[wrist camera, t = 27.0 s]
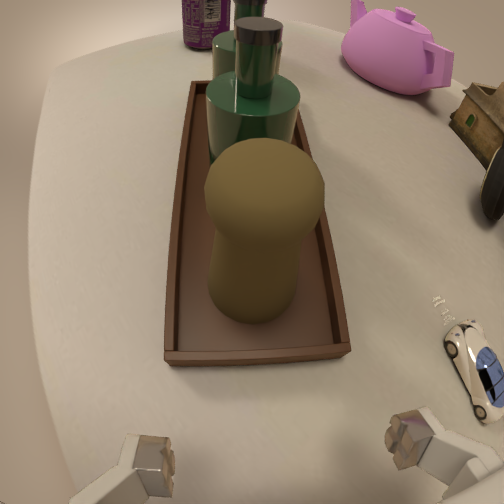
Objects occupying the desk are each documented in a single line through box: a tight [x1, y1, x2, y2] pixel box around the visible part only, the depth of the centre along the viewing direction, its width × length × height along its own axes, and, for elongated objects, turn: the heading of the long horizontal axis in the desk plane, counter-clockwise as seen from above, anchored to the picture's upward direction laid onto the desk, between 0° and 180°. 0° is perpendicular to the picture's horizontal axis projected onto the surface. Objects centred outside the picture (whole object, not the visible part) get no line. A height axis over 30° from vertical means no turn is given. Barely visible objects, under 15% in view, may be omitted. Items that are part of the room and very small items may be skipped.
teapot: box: [341, 0, 454, 95], centre depth 36 cm, size 22×16×12 cm
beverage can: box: [182, 0, 231, 49], centre depth 36 cm, size 7×7×12 cm
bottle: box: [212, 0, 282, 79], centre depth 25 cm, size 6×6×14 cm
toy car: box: [432, 296, 504, 424], centre depth 19 cm, size 4×12×3 cm, turn 23°
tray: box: [164, 80, 351, 366], centre depth 26 cm, size 29×11×2 cm, turn 3°
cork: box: [204, 138, 324, 324], centre depth 17 cm, size 6×6×11 cm
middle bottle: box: [206, 17, 300, 170], centre depth 20 cm, size 6×6×14 cm
